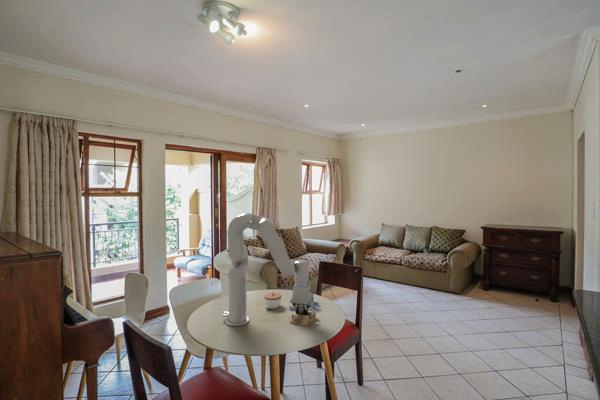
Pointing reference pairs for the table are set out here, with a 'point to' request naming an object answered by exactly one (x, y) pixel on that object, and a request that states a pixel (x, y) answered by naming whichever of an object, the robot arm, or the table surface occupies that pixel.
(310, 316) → the cradle
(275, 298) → the lidded jar
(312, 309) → the trough board
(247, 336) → the table surface
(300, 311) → the cell
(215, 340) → the table surface
